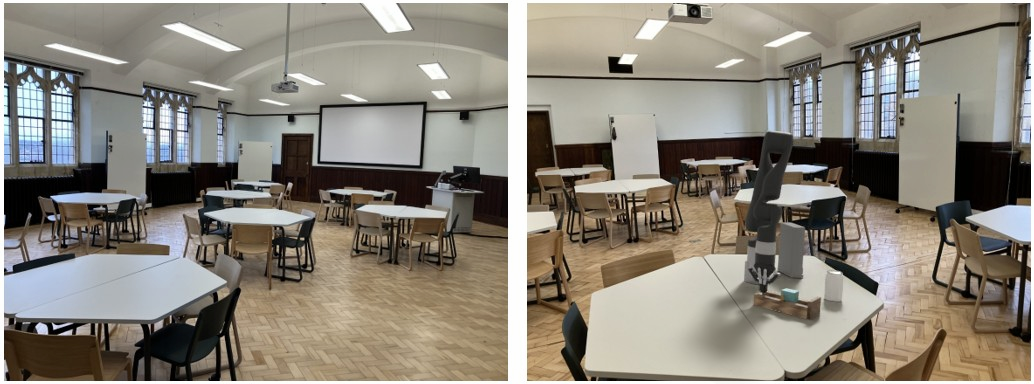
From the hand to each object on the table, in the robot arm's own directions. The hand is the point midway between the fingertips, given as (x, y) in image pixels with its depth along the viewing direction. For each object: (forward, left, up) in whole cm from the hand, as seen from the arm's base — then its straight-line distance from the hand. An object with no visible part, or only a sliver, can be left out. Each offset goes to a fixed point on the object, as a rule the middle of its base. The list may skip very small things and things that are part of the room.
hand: (763, 292), depth 215 cm
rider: (+11, 0, -2) cm, 11 cm away
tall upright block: (-12, +54, -5) cm, 55 cm away
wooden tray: (+10, 0, -5) cm, 11 cm away
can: (+17, +28, -5) cm, 33 cm away
